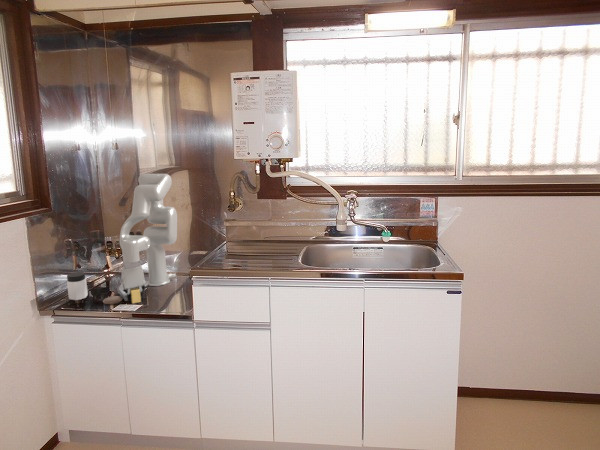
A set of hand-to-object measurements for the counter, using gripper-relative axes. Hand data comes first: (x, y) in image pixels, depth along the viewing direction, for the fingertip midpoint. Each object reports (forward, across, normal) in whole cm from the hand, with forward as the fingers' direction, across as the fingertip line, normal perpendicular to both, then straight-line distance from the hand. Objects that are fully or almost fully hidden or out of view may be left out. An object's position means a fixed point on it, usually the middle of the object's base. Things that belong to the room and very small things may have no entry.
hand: (135, 299), depth 219 cm
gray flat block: (+1, 0, -9) cm, 9 cm away
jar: (+1, +22, -23) cm, 32 cm away
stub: (+1, 0, 0) cm, 1 cm away
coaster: (+1, +9, -7) cm, 11 cm away
